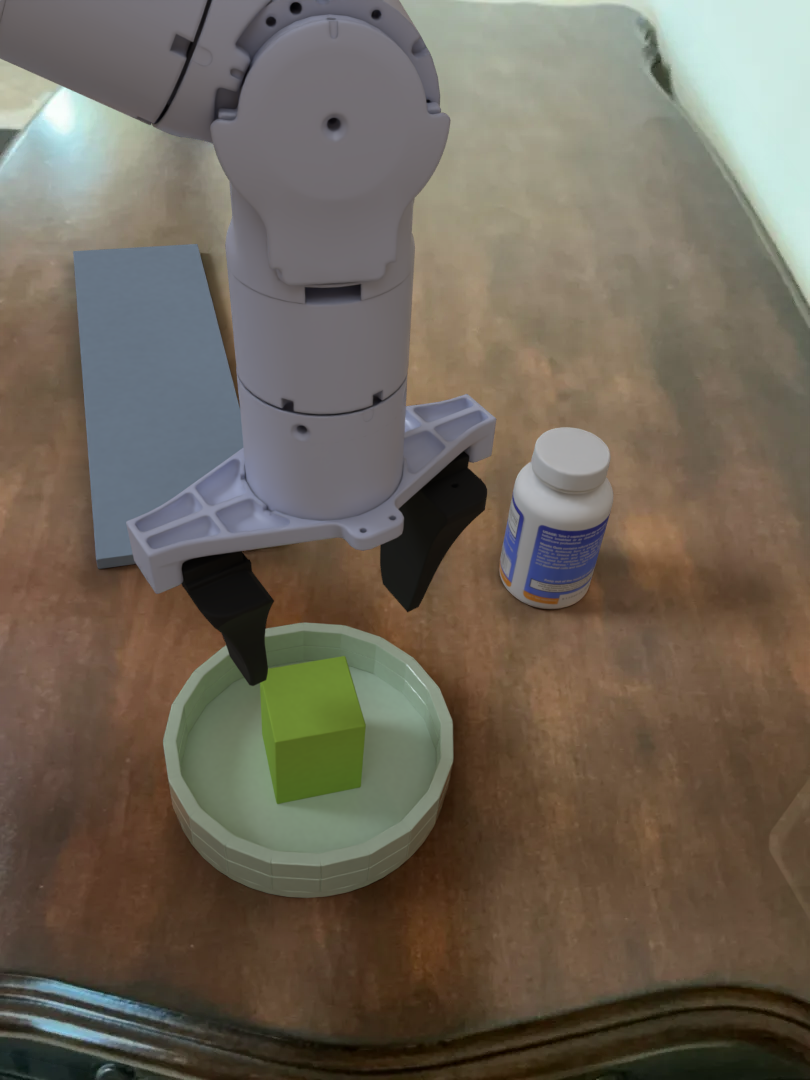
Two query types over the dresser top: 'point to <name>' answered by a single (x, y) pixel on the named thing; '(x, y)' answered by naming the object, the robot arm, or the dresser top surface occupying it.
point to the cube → (312, 729)
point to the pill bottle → (557, 519)
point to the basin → (322, 821)
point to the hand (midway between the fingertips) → (327, 629)
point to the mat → (149, 384)
